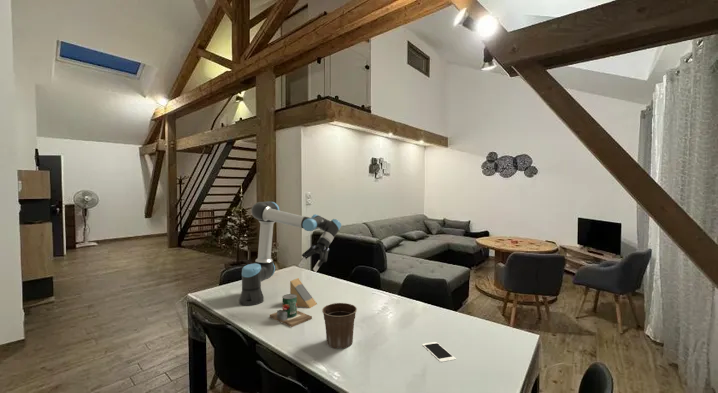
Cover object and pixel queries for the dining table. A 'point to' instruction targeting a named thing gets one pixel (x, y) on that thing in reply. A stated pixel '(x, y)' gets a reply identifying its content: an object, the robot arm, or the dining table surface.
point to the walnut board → (291, 322)
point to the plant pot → (339, 324)
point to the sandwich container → (301, 294)
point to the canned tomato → (290, 305)
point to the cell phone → (438, 352)
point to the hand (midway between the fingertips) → (306, 268)
